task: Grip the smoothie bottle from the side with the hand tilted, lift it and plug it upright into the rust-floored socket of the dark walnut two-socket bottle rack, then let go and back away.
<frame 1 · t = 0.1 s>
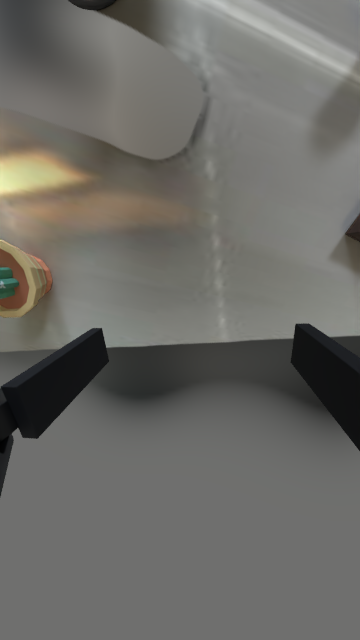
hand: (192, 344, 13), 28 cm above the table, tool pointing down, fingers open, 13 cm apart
potted cactus: (35, 276, 44), on the table
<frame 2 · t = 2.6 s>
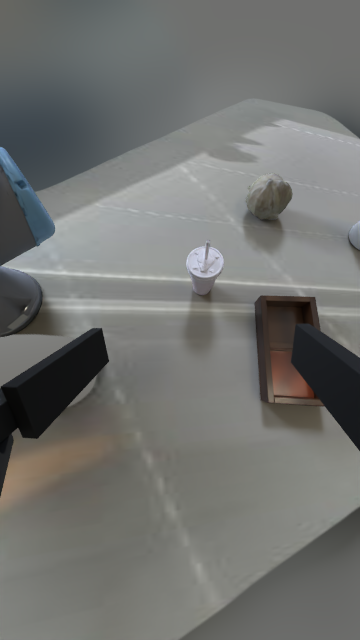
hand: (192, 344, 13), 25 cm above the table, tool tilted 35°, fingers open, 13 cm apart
rack: (283, 349, 37), on the table
smoothie: (202, 287, 42), on the table
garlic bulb: (259, 213, 47), on the table
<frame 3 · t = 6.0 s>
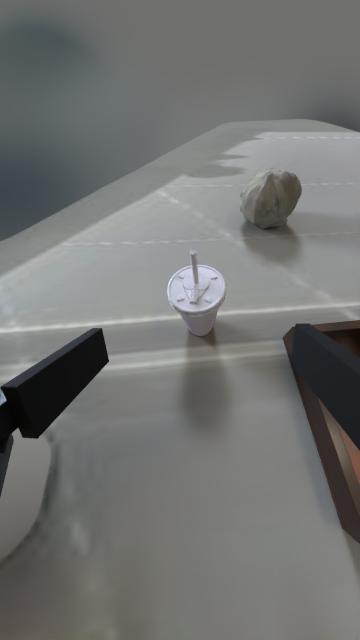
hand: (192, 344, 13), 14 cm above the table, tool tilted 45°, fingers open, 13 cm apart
rack: (353, 411, 21), on the table
smoothie: (200, 325, 29), on the table
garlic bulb: (260, 222, 37), on the table
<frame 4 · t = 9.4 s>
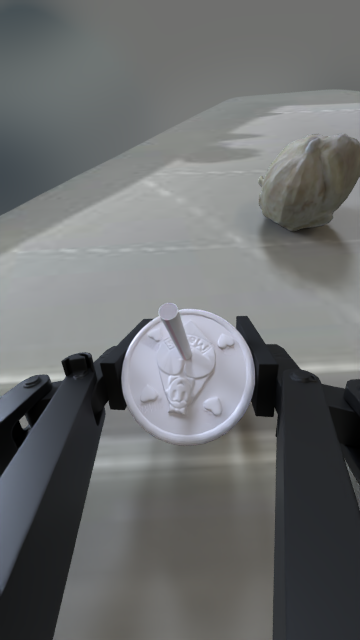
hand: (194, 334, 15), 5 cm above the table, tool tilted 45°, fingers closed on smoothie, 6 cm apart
smoothie: (198, 390, 18), on the table, touching gripper
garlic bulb: (286, 221, 25), on the table
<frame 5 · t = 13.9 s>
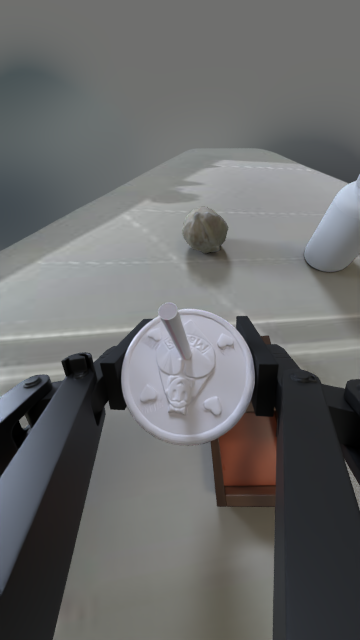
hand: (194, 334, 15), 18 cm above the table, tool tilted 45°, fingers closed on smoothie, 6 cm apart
rack: (242, 408, 28), on the table
smoothie: (198, 390, 18), point 13 cm above the table, touching gripper
pill bottle: (325, 257, 37), on the table
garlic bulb: (203, 247, 43), on the table
when the fingers open (6 cm above the table, at t = 18.6 s): smoothie stays where it is, resting on rack.
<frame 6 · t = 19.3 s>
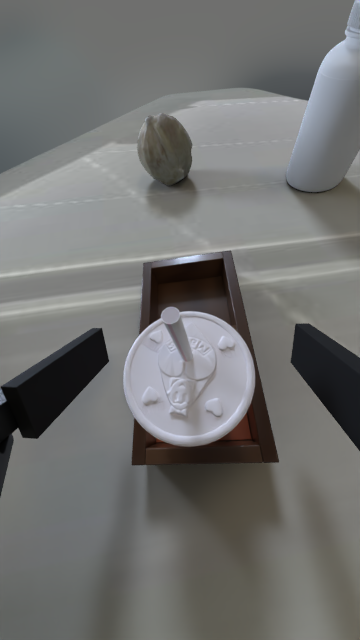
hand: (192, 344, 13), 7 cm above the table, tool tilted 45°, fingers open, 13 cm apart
rack: (195, 347, 20), on the table
smoothie: (198, 391, 18), point 1 cm above the table, touching rack
pill bottle: (311, 179, 30), on the table
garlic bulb: (168, 180, 36), on the table
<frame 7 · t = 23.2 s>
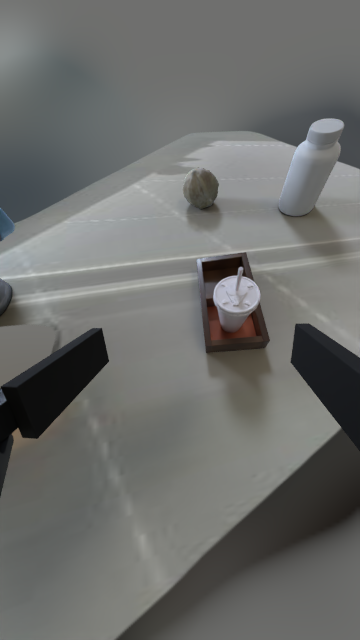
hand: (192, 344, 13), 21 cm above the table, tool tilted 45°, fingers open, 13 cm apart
rack: (226, 304, 38), on the table
smoothie: (230, 323, 35), point 1 cm above the table, touching rack
pill bottle: (294, 207, 47), on the table
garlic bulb: (199, 204, 53), on the table
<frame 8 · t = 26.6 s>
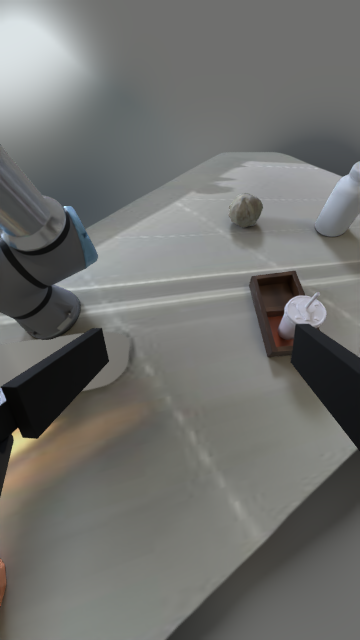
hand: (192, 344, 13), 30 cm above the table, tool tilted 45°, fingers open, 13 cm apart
rack: (279, 315, 44), on the table
smoothie: (286, 332, 42), point 1 cm above the table, touching rack
pill bottle: (329, 228, 54), on the table
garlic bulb: (241, 223, 60), on the table
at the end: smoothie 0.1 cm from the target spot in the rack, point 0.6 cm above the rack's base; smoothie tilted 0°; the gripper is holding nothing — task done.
